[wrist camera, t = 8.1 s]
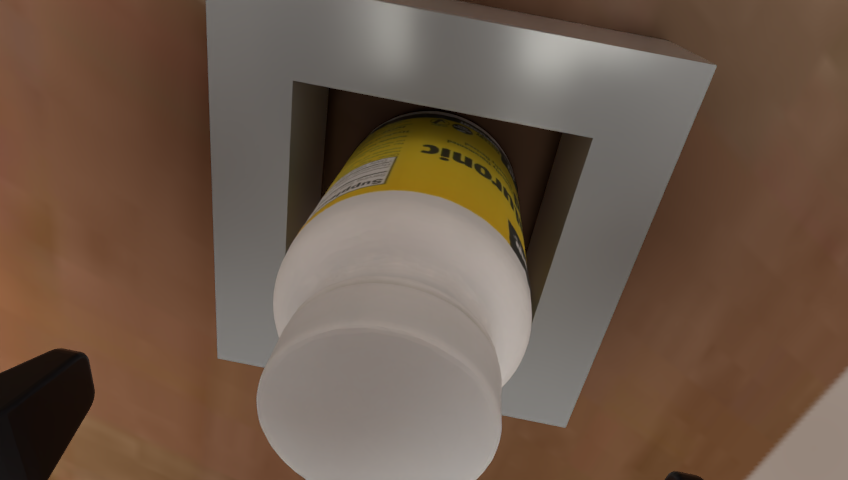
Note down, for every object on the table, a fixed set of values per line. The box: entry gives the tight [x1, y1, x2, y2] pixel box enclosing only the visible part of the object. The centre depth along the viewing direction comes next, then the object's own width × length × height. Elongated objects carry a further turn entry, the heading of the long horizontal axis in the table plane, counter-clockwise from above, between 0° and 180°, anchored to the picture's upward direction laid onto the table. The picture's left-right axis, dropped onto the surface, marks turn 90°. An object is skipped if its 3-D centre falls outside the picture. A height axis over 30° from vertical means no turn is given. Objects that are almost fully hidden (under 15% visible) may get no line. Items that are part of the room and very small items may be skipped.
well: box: [206, 0, 717, 428], centre depth 16 cm, size 11×11×4 cm
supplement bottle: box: [257, 111, 532, 480], centre depth 13 cm, size 5×5×10 cm
